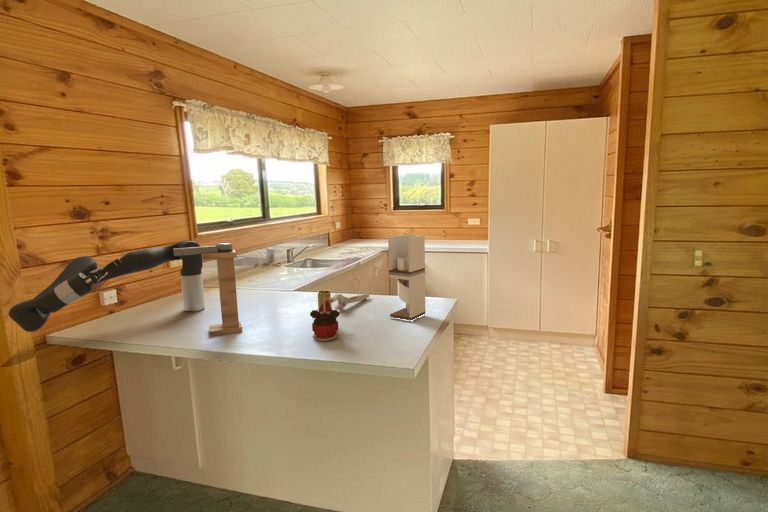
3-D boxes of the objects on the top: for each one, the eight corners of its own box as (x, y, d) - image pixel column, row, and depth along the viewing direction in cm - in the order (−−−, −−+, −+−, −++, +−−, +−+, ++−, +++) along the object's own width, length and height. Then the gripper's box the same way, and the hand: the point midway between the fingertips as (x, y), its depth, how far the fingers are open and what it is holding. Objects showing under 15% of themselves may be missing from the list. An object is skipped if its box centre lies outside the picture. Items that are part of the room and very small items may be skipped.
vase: (321, 328, 173) (319, 294, 171) (316, 324, 178) (314, 291, 176) (335, 326, 176) (333, 292, 174) (330, 322, 181) (328, 289, 179)
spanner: (173, 254, 165) (172, 246, 164) (231, 250, 174) (230, 242, 174) (174, 256, 159) (173, 248, 159) (233, 251, 169) (233, 244, 168)
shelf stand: (209, 330, 175) (202, 251, 171) (240, 325, 180) (234, 249, 175) (209, 336, 167) (202, 254, 163) (242, 331, 172) (236, 252, 167)
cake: (309, 342, 158) (306, 294, 155) (314, 334, 167) (312, 288, 164) (338, 342, 157) (336, 293, 154) (341, 333, 166) (339, 288, 164)
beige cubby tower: (404, 312, 194) (403, 234, 188) (425, 315, 187) (424, 235, 182) (390, 318, 184) (388, 237, 179) (411, 322, 178) (409, 238, 173)
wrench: (369, 304, 220) (335, 312, 194) (366, 304, 221) (331, 312, 195) (369, 288, 220) (335, 294, 194) (366, 288, 221) (332, 294, 194)
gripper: (86, 292, 160) (127, 267, 164) (76, 301, 147) (121, 273, 151) (72, 276, 157) (114, 251, 161) (60, 283, 144) (106, 256, 148)
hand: (117, 262), depth 156 cm, fingers open, 8 cm apart
